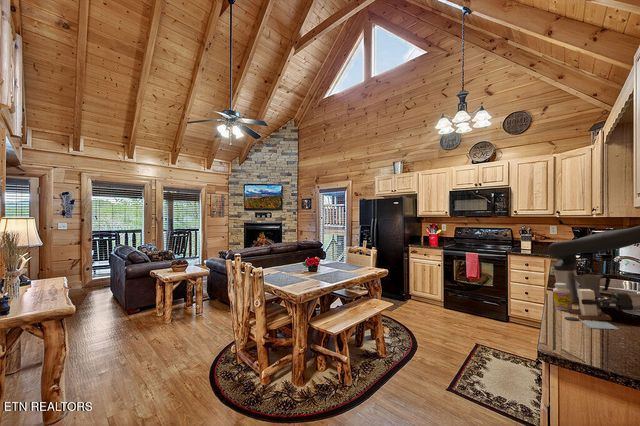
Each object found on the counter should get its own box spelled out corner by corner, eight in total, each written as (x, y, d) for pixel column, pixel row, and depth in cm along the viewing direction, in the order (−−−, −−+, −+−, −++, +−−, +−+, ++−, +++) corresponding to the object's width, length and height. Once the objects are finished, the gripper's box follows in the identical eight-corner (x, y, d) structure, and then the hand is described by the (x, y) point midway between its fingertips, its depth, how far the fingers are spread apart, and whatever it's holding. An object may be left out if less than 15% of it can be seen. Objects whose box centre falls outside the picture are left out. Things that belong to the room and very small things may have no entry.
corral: (569, 312, 135) (569, 308, 135) (598, 313, 131) (598, 309, 131) (579, 318, 125) (578, 315, 125) (611, 320, 121) (611, 316, 121)
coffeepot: (581, 307, 141) (576, 272, 143) (572, 302, 150) (567, 269, 151) (620, 307, 136) (614, 271, 137) (608, 303, 145) (603, 268, 146)
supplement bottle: (557, 310, 139) (553, 284, 140) (553, 306, 145) (550, 282, 146) (574, 311, 136) (570, 285, 137) (570, 307, 142) (566, 282, 143)
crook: (579, 311, 135) (579, 308, 135) (574, 308, 140) (574, 305, 140) (601, 312, 132) (600, 309, 132) (595, 309, 137) (595, 306, 137)
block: (581, 314, 131) (577, 288, 132) (593, 314, 129) (589, 289, 130) (585, 317, 127) (581, 290, 128) (598, 317, 125) (594, 291, 126)
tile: (580, 321, 122) (580, 320, 122) (607, 322, 118) (607, 321, 118) (590, 328, 114) (589, 327, 114) (619, 329, 110) (619, 328, 110)
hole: (562, 317, 129) (562, 316, 129) (576, 317, 127) (576, 317, 127) (567, 320, 124) (567, 319, 124) (581, 321, 122) (581, 320, 122)
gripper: (618, 289, 129) (571, 289, 137) (637, 297, 117) (585, 296, 124) (620, 306, 129) (574, 304, 136) (640, 314, 116) (587, 312, 123)
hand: (579, 300), depth 130 cm, fingers closed on block, 4 cm apart
